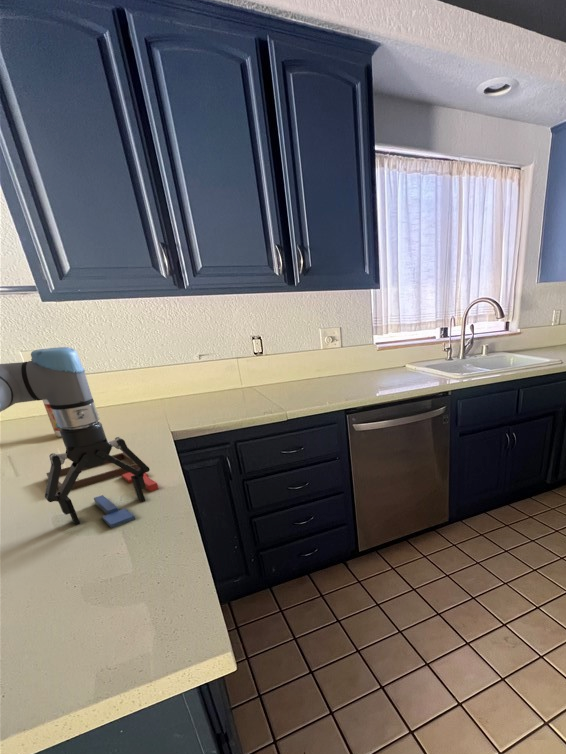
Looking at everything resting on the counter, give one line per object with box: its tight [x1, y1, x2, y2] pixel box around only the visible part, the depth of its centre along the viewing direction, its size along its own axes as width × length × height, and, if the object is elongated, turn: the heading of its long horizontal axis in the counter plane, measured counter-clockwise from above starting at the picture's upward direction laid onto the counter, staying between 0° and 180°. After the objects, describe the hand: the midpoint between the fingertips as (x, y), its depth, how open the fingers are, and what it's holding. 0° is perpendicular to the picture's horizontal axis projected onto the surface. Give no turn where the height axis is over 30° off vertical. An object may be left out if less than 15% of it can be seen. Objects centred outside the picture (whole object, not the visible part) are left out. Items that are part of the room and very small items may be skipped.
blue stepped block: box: [93, 494, 136, 529], centre depth 97 cm, size 16×5×2 cm, turn 48°
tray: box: [45, 452, 139, 491], centre depth 118 cm, size 20×14×2 cm
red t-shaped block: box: [121, 472, 159, 492], centre depth 112 cm, size 16×5×2 cm, turn 48°
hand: (111, 513), depth 98 cm, fingers open, 13 cm apart
